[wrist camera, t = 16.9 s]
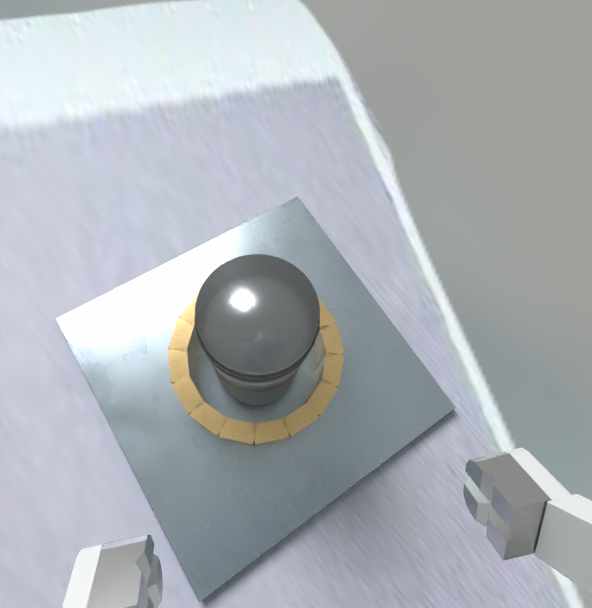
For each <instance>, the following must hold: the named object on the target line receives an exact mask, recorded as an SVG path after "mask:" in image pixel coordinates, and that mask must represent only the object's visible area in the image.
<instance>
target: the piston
mask: <svg viewBox="0 0 592 608" xmlns="http://www.w3.org/2000/svg"><path fill="white" fill-rule="evenodd" d="M319 325H320V306H319V300H318V297H317V293H316V291H315V289H314V287H313V285H312V283H311V282H310V280H309V279H308V278H307V277H306V275H305V274H304V273H303V272H302V271H301V270H300V269H298V268H297V267H296V266H294V265H293V264H291V263H289V262H288V261H286V260H283V259H281V258H278V257H275V256H271V255H265V254H250V255H244V256H240V257H237V258H234V259H231V260H229V261H227V262H225V263H224V264H222V265H220V266H219V267H218V268H216V269H215V270H214V271H213V272H212V273H211V274H210V275H209V276H208V277H207V279H206V280H205V281H204V283H203V285H202V287H201V288H200V291H199V293H198V296H197V300H196V304H195V328H196V333H197V336H198V339H199V342H200V344H201V346H202V348H203V350H204V352H205V354H206V356H207V357H208V359H209V360H210V361H211V363H212V365H213V368H214V370H215V372H216V375H217V377H218V379H219V381H220V383H221V385H222V387H223V388H224V390H225V391H226V392H227V393H228V394H229V395H230V396H231V397H233V398H234V399H236V400H238V401H240V402H242V403H245V404H250V405H262V404H267V403H270V402H272V401H275V400H276V399H278V398H280V397H281V396H282V395H283V394H285V393H286V392H287V390H288V389H289V388H290V386H291V385H292V383H293V381H294V379H295V377H296V375H297V373H298V371H299V368H300V366H301V364H302V363H303V361H304V360H305V359H306V358H307V356H308V354H309V353H310V351H311V349H312V347H313V345H314V343H315V340H316V338H317V335H318V331H319Z"/></svg>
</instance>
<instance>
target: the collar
mask: <svg viewBox="0 0 592 608" xmlns="http://www.w3.org/2000/svg"><path fill="white" fill-rule="evenodd" d="M250 254H265V255H271V256H275V257H278V258H281V259H283V260H286V261H288V262H289V263H291V264H293V265H294V266H296V267H297V268H298V269H300V270H301V271H302V272H303V273H304V274H305V275H306V277H307V278H308V279H309V280H310V282H311V283H312V285H313V287H314V289H315V291H316V293H317V297H318V300H319V306H320V325H319V331H318V335H317V338H316V340H315V343H314V345H313V347H312V349H311V351H310V353H309V354H308V356H307V358H306V359H305V360H304V361H303V363H302V364H301V366H300V368H299V371H298V373H297V375H296V377H295V379H294V381H293V383H292V385H291V386H290V388H289V389H288V390H287V392H286V393H285V394H283V395H282V396H281V397H280V398H278V399H276V400H275V401H272V402H270V403H267V404H262V405H250V404H245V403H242V402H240V401H238V400H236V399H234V398H233V397H231V396H230V395H229V394H228V393H227V392H226V391H225V390H224V388H223V387H222V385H221V383H220V381H219V379H218V377H217V375H216V372H215V370H214V368H213V365H212V363H211V361H210V360H209V359H208V357H207V356H206V354H205V352H204V350H203V348H202V346H201V344H200V342H199V339H198V336H197V333H196V328H195V304H196V300H197V296H198V293H199V291H200V288H201V287H202V285H203V283H204V281H205V280H206V279H207V277H208V276H209V275H210V274H211V273H212V272H213V271H214V270H215V269H216V268H218V267H219V266H220V265H222V264H224V263H225V262H227V261H229V260H231V259H234V258H237V257H240V256H244V255H250ZM56 320H57V322H58V324H59V326H60V328H61V330H62V332H63V333H64V335H65V337H66V339H67V341H68V343H69V345H70V347H71V349H72V351H73V353H74V355H75V357H76V359H77V361H78V363H79V365H80V367H81V369H82V371H83V373H84V375H85V377H86V379H87V381H88V383H89V385H90V387H91V389H92V391H93V393H94V395H95V397H96V399H97V401H98V403H99V405H100V407H101V409H102V411H103V413H104V415H105V417H106V419H107V421H108V422H109V424H110V426H111V428H112V430H113V432H114V434H115V436H116V438H117V440H118V442H119V444H120V446H121V448H122V450H123V452H124V454H125V456H126V458H127V460H128V462H129V464H130V466H131V468H132V470H133V472H134V474H135V476H136V478H137V480H138V482H139V484H140V486H141V488H142V490H143V492H144V494H145V496H146V498H147V500H148V502H149V504H150V506H151V508H152V510H153V512H154V513H155V515H156V517H157V519H158V521H159V523H160V525H161V527H162V529H163V531H164V533H165V535H166V537H167V539H168V541H169V543H170V545H171V547H172V549H173V551H174V553H175V555H176V557H177V559H178V561H179V563H180V565H181V567H182V569H183V571H184V573H185V575H186V577H187V579H188V581H189V583H190V585H191V587H192V589H193V591H194V593H195V595H196V597H197V599H198V601H199V602H200V601H202V600H203V599H204V598H206V597H207V596H208V595H209V594H211V593H212V592H213V591H215V590H216V589H217V588H219V587H220V586H221V585H223V584H224V583H225V582H227V581H228V580H229V579H231V578H232V577H233V576H235V575H236V574H237V573H238V572H240V571H241V570H242V569H244V568H245V567H246V566H248V565H249V564H250V563H252V562H253V561H254V560H256V559H257V558H258V557H260V556H261V555H262V554H264V553H265V552H266V551H267V550H269V549H270V548H271V547H273V546H274V545H275V544H277V543H278V542H279V541H281V540H282V539H283V538H285V537H286V536H287V535H289V534H290V533H291V532H292V531H294V530H295V529H296V528H298V527H299V526H300V525H302V524H303V523H304V522H306V521H307V520H308V519H310V518H311V517H312V516H314V515H315V514H316V513H318V512H319V511H320V510H321V509H323V508H324V507H325V506H327V505H328V504H329V503H331V502H332V501H333V500H335V499H336V498H337V497H339V496H340V495H341V494H343V493H344V492H345V491H346V490H348V489H349V488H350V487H352V486H353V485H354V484H356V483H357V482H358V481H360V480H361V479H362V478H364V477H365V476H366V475H368V474H369V473H370V472H372V471H373V470H374V469H375V468H377V467H378V466H379V465H381V464H382V463H383V462H385V461H386V460H387V459H389V458H390V457H391V456H393V455H394V454H395V453H397V452H398V451H399V450H401V449H402V448H403V447H404V446H406V445H407V444H408V443H410V442H411V441H412V440H414V439H415V438H416V437H418V436H419V435H420V434H422V433H423V432H424V431H426V430H427V429H428V428H429V427H431V426H432V425H433V424H435V423H436V422H437V421H439V420H440V419H441V418H443V417H444V416H445V415H447V414H448V413H449V412H451V411H452V410H453V409H455V407H454V405H453V404H452V403H451V401H450V400H449V399H448V397H447V396H446V395H445V393H444V392H443V391H442V389H441V388H440V387H439V385H438V384H437V382H436V381H435V380H434V378H433V377H432V376H431V374H430V373H429V372H428V370H427V369H426V368H425V366H424V365H423V364H422V362H421V361H420V360H419V358H418V357H417V356H416V354H415V353H414V352H413V350H412V349H411V348H410V346H409V345H408V344H407V342H406V341H405V340H404V338H403V337H402V336H401V334H400V333H399V332H398V330H397V329H396V328H395V326H394V325H393V324H392V322H391V321H390V320H389V318H388V317H387V316H386V314H385V313H384V311H383V310H382V309H381V307H380V306H379V305H378V303H377V302H376V301H375V299H374V298H373V297H372V295H371V294H370V293H369V291H368V290H367V289H366V287H365V286H364V285H363V283H362V282H361V281H360V279H359V278H358V277H357V275H356V274H355V273H354V271H353V270H352V269H351V267H350V266H349V265H348V263H347V262H346V261H345V259H344V258H343V257H342V255H341V254H340V253H339V251H338V250H337V249H336V247H335V246H334V245H333V243H332V242H331V240H330V239H329V238H328V236H327V235H326V234H325V232H324V231H323V230H322V228H321V227H320V226H319V224H318V223H317V222H316V220H315V219H314V218H313V216H312V215H311V214H310V212H309V211H308V210H307V208H306V207H305V206H304V204H303V203H302V202H301V200H300V199H299V198H298V197H296V198H294V199H292V200H290V201H288V202H286V203H284V204H282V205H280V206H278V207H276V208H274V209H272V210H270V211H268V212H266V213H264V214H262V215H260V216H258V217H256V218H254V219H252V220H250V221H248V222H246V223H244V224H242V225H240V226H238V227H236V228H235V229H233V230H231V231H229V232H227V233H225V234H223V235H221V236H219V237H217V238H215V239H213V240H211V241H209V242H207V243H205V244H203V245H201V246H199V247H197V248H195V249H193V250H191V251H189V252H187V253H185V254H183V255H181V256H179V257H177V258H175V259H173V260H171V261H169V262H167V263H165V264H163V265H161V266H159V267H157V268H155V269H153V270H151V271H149V272H148V273H146V274H144V275H142V276H140V277H138V278H136V279H134V280H132V281H130V282H128V283H126V284H124V285H122V286H120V287H118V288H116V289H114V290H112V291H110V292H108V293H106V294H104V295H102V296H100V297H98V298H96V299H94V300H92V301H90V302H88V303H86V304H84V305H82V306H80V307H78V308H76V309H74V310H72V311H70V312H68V313H66V314H64V315H62V316H61V317H59V318H57V319H56Z"/></svg>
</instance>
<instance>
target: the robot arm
mask: <svg viewBox="0 0 592 608" xmlns="http://www.w3.org/2000/svg"><path fill="white" fill-rule="evenodd" d="M466 472H467V474H468V475H469V476H470V477H469V478H468V479H467V480H466V482H465V483H464V492H463V493H464V497H465V501H466V505H467V507H468V509H469V511H470V513H471V514H472V516H473V517H474V519H475V520H476V521H477V522H479V523H480V524H482V525H484V526H486V527H487V532H486V537H487V538H488V539H489V541H490V542H491V544H492V545H493V547H494V548H495V550H496V551H497V552H498V554H499V555H500V557H501V558H502V560H508V559H512V558H516V557H520V556H524V555H528V554H533V553H535V556H537V557H538V558H540V559H541V560H542V561H544V562H545V563H547V564H548V565H550V566H551V567H553V568H554V569H555V570H557V571H558V572H560V573H561V574H563V575H564V576H565V577H567V578H568V579H570V580H571V581H573V582H574V583H576V584H577V585H578V586H580V587H581V588H583V589H585V590H586V591H587V592H588V593H590V594H591V595H592V501H591V500H589V499H587V498H584V497H582V496H580V495H578V494H574V495H571V494H570V493H569V492H568V491H567V490H566V489H565V488H564V487H563V486H562V485H561V484H560V483H559V482H558V481H557V480H556V479H555V478H554V477H553V476H552V475H551V474H550V473H549V472H548V471H547V470H546V469H545V468H544V467H543V466H542V465H541V464H540V463H539V462H538V461H537V460H536V459H535V458H534V457H533V456H532V455H531V454H530V453H529V452H528V451H527V450H525V449H523V448H518V449H514V450H510V451H505V452H500V453H495V454H491V455H487V456H483V457H479V458H475V459H471V460H469V461H468V463H467V465H466ZM153 549H154V543H153V540H152V537H151V535H146V536H141V537H136V538H131V539H126V540H121V541H116V542H111V543H106V544H102V545H97V546H93V547H88V548H84V549H81V551H80V552H79V554H78V556H77V557H76V561H75V564H74V568H73V571H72V575H71V578H70V582H69V585H68V589H67V592H66V596H65V599H64V603H63V606H62V608H158V606H159V604H160V603H161V601H162V589H163V586H162V570H161V564H160V561H159V558H158V556H156V555H154V554H153Z"/></svg>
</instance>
